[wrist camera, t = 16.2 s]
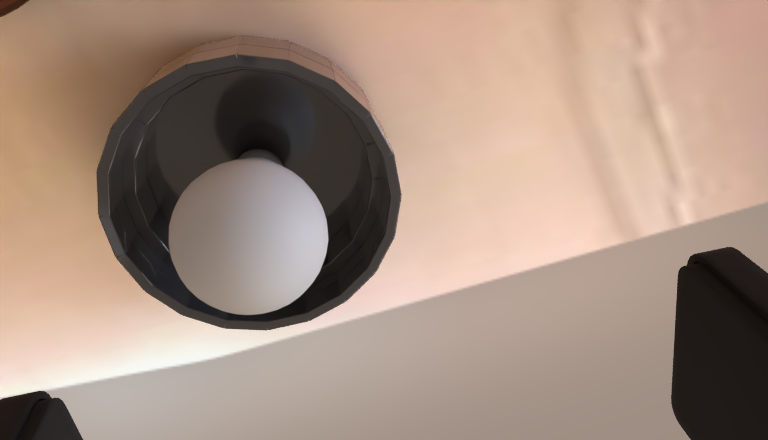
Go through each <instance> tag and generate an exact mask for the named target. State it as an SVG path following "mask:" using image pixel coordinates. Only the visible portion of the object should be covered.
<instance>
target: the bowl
mask: <svg viewBox="0 0 768 440" xmlns="http://www.w3.org/2000/svg"><path fill="white" fill-rule="evenodd" d="M253 149H264V150H267V151H269V152H271V153H273V154H274V155H276V156H277V157H278V158H279V159H280V161H281V163H282V164H283V167H285V168H287V169H289V170H290V171H292V172H294V173H295V174H296V175H297V176H299V177H300V178H301V179H303V180H304V182H305V183H306V184H307V185H308V186H309V187H310V189H311V190H312V191H313V192H314V193H315V195H316V196H317V198H318V200H319V202H320V203H321V205H322V207H323V210H324V213H325V217H326V220H327V229H328V246H327V253H326V256H325V259H324V262H323V265H322V267H321V270H320V272H319V274H318V275H317V277H316V278H315V280H314V282H313V283H312V284H311V286H310V287H309V288H308V289H307V290H306V291H305V292H304V293H303V294H302V295H301V296H300V297H299V298H297V299H296V300H295V301H293V302H292V303H290V304H289V305H287V306H284V307H282V308H280V309H278V310H275V311H271V312H267V313H264V314H255V315H241V314H233V313H229V312H225V311H222V310H219V309H217V308H214V307H212V306H210V305H208V304H206V303H205V302H203V301H202V300H200V299H199V298H197V297H196V296H195V295H194V294H193V293H192V292H191V291H190V290H189V289H188V288H187V287H186V286H185V284H184V283H183V281H182V280H181V279H180V277H179V275H178V273H177V271H176V268H175V266H174V264H173V261H172V259H171V253H170V248H169V224H170V220H171V217H172V213H173V210H174V208H175V206H176V204H177V202H178V200H179V198H180V196H181V194H182V193H183V192H184V190H185V189H186V188H187V187H188V186H189V185H190V183H191V182H193V181H194V180H195V179H196V178H198V177H199V176H200V175H202V174H203V173H204V172H206V171H207V170H209V169H211V168H213V167H215V166H217V165H219V164H222V163H225V162H229V161H233V160H237V159H238V158H239V157H240V155H242V154H243V153H245V152H247V151H249V150H253ZM97 193H98V215H99V218H100V221H101V223H102V226H103V228H104V230H105V233H106V235H107V238H108V240H109V243H110V245H111V247H112V250H113V252H114V255H115V257H116V258H117V260H118V261H119V262H120V263H121V264H122V265H123V267H124V268H125V269H126V270H127V271H128V272H129V274H130V275H131V276H132V277H133V278H134V279H135V281H136V282H137V283H138V284H139V285H140V286H141V288H142V289H143V290H145V292H147V293H148V294H150V295H151V296H153V297H154V298H156V299H158V300H159V301H161V302H162V303H164V304H165V305H167V306H168V307H170V308H172V309H173V310H175V311H176V312H178V313H179V314H181V315H183V316H186V317H189V318H193V319H196V320H199V321H202V322H205V323H209V324H212V325H215V326H218V327H221V328H225V329H249V330H271V329H276V328H280V327H285V326H289V325H294V324H298V323H303V322H307V321H309V320H312V319H314V318H316V317H318V316H320V315H322V314H324V313H326V312H327V311H329V310H331V309H333V308H335V307H337V306H339V305H341V304H343V303H344V302H346V301H347V300H348V299H349V298H350V297H351V296H352V295H353V294H354V293H356V292H357V291H358V290H359V289H360V288H361V287H362V286H363V285H364V284H365V283H366V282H367V281H368V280H369V279H370V278H371V277H372V276H373V275H374V274H375V272H376V271H377V269H378V268H379V266H380V264H381V262H382V260H383V258H384V256H385V254H386V252H387V251H388V249H389V247H390V245H391V243H392V241H393V239H394V236H395V233H396V227H397V221H398V214H399V208H400V202H401V190H400V184H399V179H398V173H397V167H396V162H395V156H394V153H393V150H392V148H391V146H390V143H389V141H388V139H387V137H386V134H385V132H384V130H383V127H382V125H381V123H380V121H379V119H378V117H377V115H376V114H375V112H374V110H373V108H372V107H371V105H370V103H369V101H368V99H367V98H366V96H365V94H364V92H363V90H362V89H361V87H359V86H358V85H357V84H356V83H355V82H354V81H353V80H352V79H351V78H350V77H349V76H347V75H346V74H345V73H344V72H343V71H342V70H341V69H340V68H339V67H338V66H337V65H335V64H334V63H333V62H332V61H331V60H329V59H328V58H326V57H323V56H321V55H319V54H317V53H315V52H313V51H310V50H308V49H306V48H304V47H302V46H300V45H297V44H295V43H293V42H289V41H287V40H279V39H271V38H262V37H254V36H239V37H234V38H229V39H224V40H219V41H214V42H209V43H204V44H201V45H198V46H197V47H195V48H193V49H192V50H190V51H188V52H187V53H185V54H183V55H181V56H180V57H178V58H176V59H175V60H173V61H171V62H170V63H168V64H166V65H164V66H163V68H161V69H160V70H159V71H158V72H157V73H156V75H155V76H154V77H153V78H152V79H151V80H150V81H149V82H148V84H147V85H146V86H145V87H144V88H143V89H142V90H141V91H140V93H139V94H138V95H137V96H136V97H135V99H134V100H133V101H132V102H131V104H130V105H129V106H128V107H127V108H126V110H125V111H124V112H123V113H122V114H121V116H120V117H119V118H118V119H117V121H116V122H115V123H114V124H113V125H112V127H111V129H110V132H109V135H108V138H107V141H106V144H105V147H104V150H103V153H102V156H101V159H100V162H99V165H98V168H97Z"/></svg>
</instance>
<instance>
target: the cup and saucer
mask: <svg viewBox="0 0 768 440" xmlns="http://www.w3.org/2000/svg"><path fill="white" fill-rule="evenodd" d="M28 1H29V0H0V17H2V16H4V15H6V14H8V13H10V12H12V11H14V10H16V9H18V8H19V7H20V6H22V5H23V4H25V3H26V2H28Z"/></svg>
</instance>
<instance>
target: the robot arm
mask: <svg viewBox="0 0 768 440" xmlns="http://www.w3.org/2000/svg"><path fill="white" fill-rule="evenodd" d="M677 285H678V286H677V302H676V321H675V341H674V358H673V377H672V395H671V399H672V408H673V411H674V414H675V416H676V419H677V421H678V422H679V424H680V425H681V427H682V428H683V430H684V431H685V432H686V434H687V435H688V436H689V438H690V439H691V440H768V273H767V272H765V271H764V270H763V269H762V268H760V267H759V266H758V265H756V264H755V263H754V262H752V261H751V260H750V259H749V258H747V257H746V256H745V255H743V254H742V253H741V252H740V251H739V250H737V249H735V248H732V247H726V248H722V249H717V250H712V251H707V252H702V253H697V254H694V255H692V256H690V258H689V260H688V264H687V266H683V267H681V268H680V270H679V273H678V284H677ZM0 440H83V439H82V437H81V435H80V433H79V431H78V429H77V427H76V425H75V423H74V421H73V419H72V417H71V415H70V413H69V411H68V409H67V408H66V406H65V404H64V403H63V401H62V400H61V399H59V398H51V397H50V395H49V394H47V393H46V392H45V391H37V392H32V393H27V394H23V395H18V396H13V397H8V398H3V399H1V400H0Z"/></svg>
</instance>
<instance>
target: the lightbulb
mask: <svg viewBox="0 0 768 440" xmlns="http://www.w3.org/2000/svg"><path fill="white" fill-rule="evenodd" d="M327 246H328V229H327V220H326V217H325V213H324V210H323V207H322V205H321V203H320V202H319V200H318V198H317V196H316V195H315V193H314V192H313V191H312V190H311V189H310V187H309V186H308V185H307V184H306V183H305V182H304V180H303V179H301V178H300V177H299V176H297V175H296V174H295V173H294V172H292V171H290V170H289V169H287V168H285V167H283V164H282V163H281V161H280V159H279V158H278V157H277V156H276V155H274V154H273V153H271V152H269V151H267V150H264V149H253V150H249V151H247V152H245V153H243V154H242V155H240V157H239V158H238V159H237V160H233V161H229V162H225V163H222V164H219V165H217V166H215V167H213V168H211V169H209V170H207V171H206V172H204V173H203V174H202V175H200V176H199V177H198V178H196V179H195V180H194V181H193V182H191V183H190V185H189V186H188V187H187V188H186V189H185V190H184V192H183V193H182V194H181V196H180V198H179V200H178V202H177V204H176V206H175V208H174V210H173V213H172V217H171V220H170V224H169V248H170V253H171V259H172V261H173V264H174V266H175V268H176V271H177V273H178V275H179V277H180V279H181V280H182V281H183V283H184V284H185V286H186V287H187V288H188V289H189V290H190V291H191V292H192V293H193V294H194V295H195V296H196V297H197V298H199V299H200V300H202V301H203V302H205V303H206V304H208V305H210V306H212V307H214V308H217V309H219V310H222V311H225V312H229V313H233V314H241V315H255V314H264V313H267V312H271V311H275V310H278V309H280V308H282V307H284V306H287V305H289V304H290V303H292V302H293V301H295V300H296V299H297V298H299V297H300V296H301V295H302V294H303V293H304V292H305V291H306V290H307V289H308V288H309V287H310V286H311V284H312V283H313V282H314V280H315V278H316V277H317V275H318V274H319V272H320V270H321V267H322V265H323V262H324V259H325V256H326V253H327Z"/></svg>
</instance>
